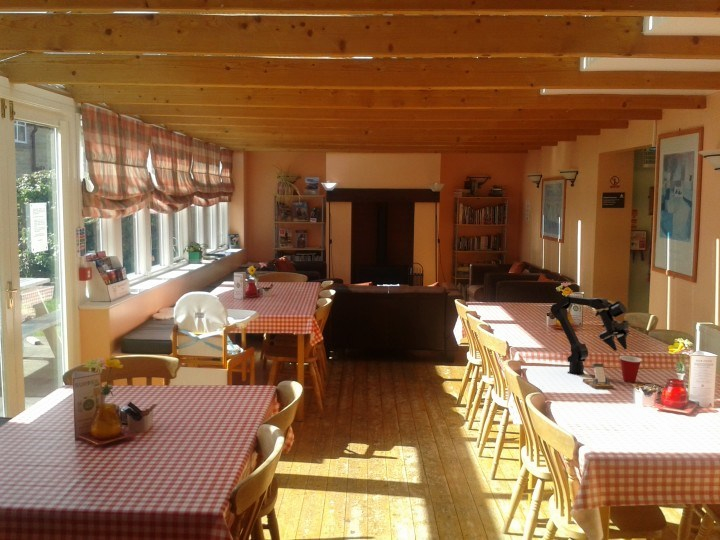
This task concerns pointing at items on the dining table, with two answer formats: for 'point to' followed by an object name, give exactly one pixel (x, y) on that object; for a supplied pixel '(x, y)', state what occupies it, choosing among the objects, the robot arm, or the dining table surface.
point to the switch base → (597, 385)
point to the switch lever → (599, 373)
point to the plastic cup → (630, 367)
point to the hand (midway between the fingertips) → (621, 349)
